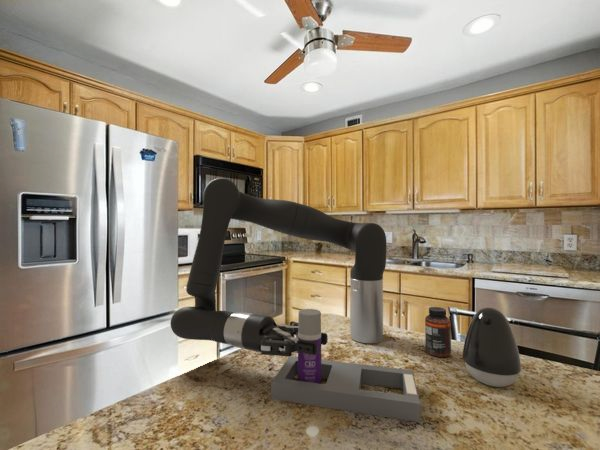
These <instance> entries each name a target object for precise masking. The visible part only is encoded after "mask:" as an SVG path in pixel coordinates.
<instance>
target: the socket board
mask: <svg viewBox="0 0 600 450" xmlns="http://www.w3.org/2000/svg"><path fill="white" fill-rule="evenodd" d="M296 376H298V356H293V355H291V356H288V358H287V359H286V360H285V362H284V363H283V365H282V366H281V368H280V370H278V372H277V373H276V375H275V376H274V378H273V379H272V381H271V382H270V400H276V401H281V402H288V403H295V404H302V405H308V406H313V407H321V408H326V409H327V408H328V409H334V410H339V411H340V410H341V411H346V412H353V413H359V414H366V415H372V416H377V417H385V418H391V419H397V420H402V421H403V420H404V421H410V422H416V423H421V401H420V398H419V397H420V396H419V393H418V389H417V385H416V381H415V377H414V371H413V369H407V368H399V367H398V368H396V367H389V366H379V365H373V364H372V365H371V364H364V363H362V364H361V363H353V362H345V361H337V360H329V359H321V379H325V380H326V379H327V381H326V383H325V384H323V383H321V384H318V383H311V382H304V381H298V380H295V379H294V378H295V377H296ZM362 384H365V385H371V386H372V385H373V386H380V387H386V388H395V389H401V390H402V393H403V394H396V393H390V392H384V391H383V392H382V391H377V390H376V391H375V390H367V389H362Z"/></svg>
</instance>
